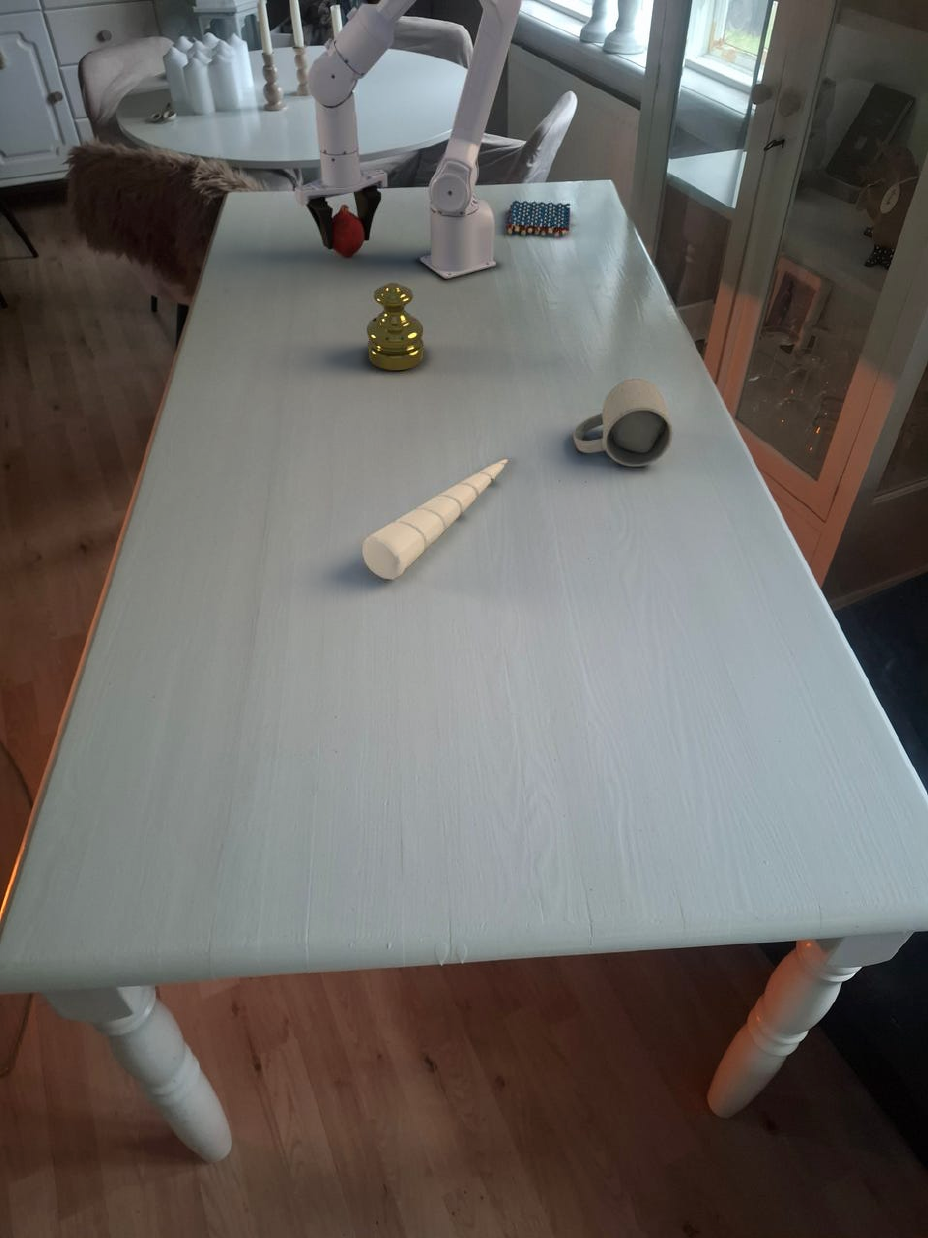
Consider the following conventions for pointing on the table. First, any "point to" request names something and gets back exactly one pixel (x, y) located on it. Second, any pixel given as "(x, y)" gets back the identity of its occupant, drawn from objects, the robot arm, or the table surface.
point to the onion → (347, 232)
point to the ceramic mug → (630, 425)
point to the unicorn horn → (422, 526)
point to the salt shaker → (394, 331)
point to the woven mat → (538, 217)
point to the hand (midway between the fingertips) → (346, 242)
